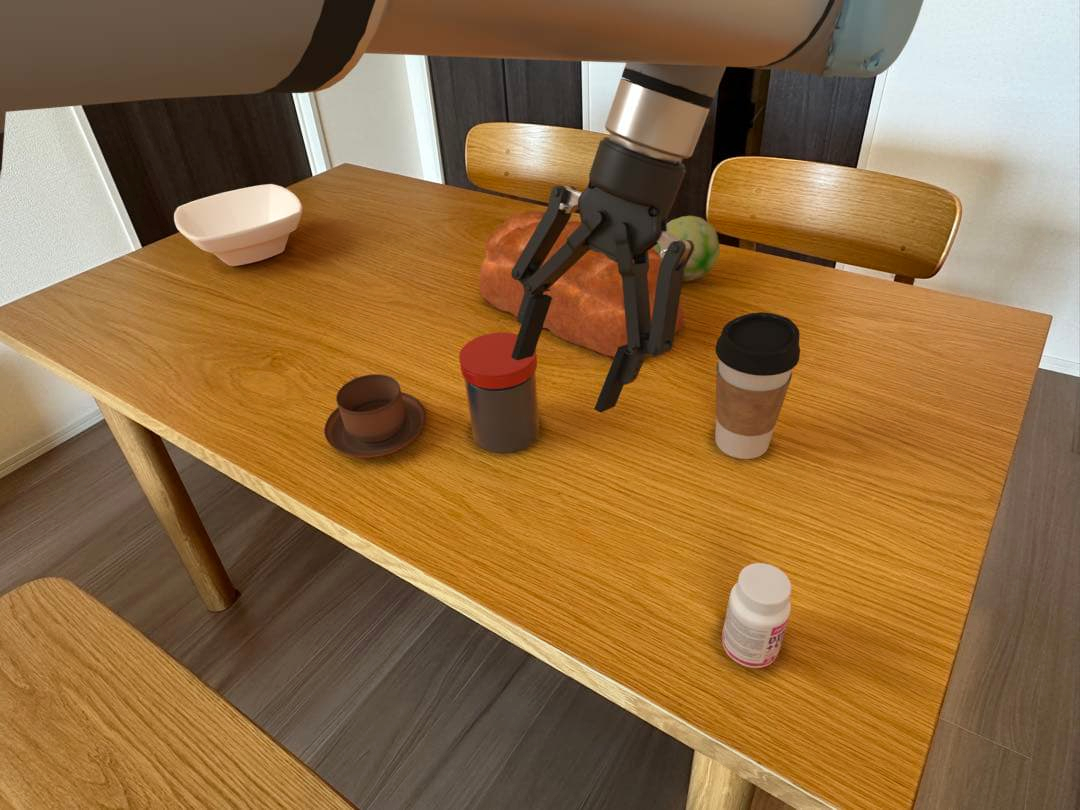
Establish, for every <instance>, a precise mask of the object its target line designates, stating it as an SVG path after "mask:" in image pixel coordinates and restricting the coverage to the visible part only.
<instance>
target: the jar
mask: <svg viewBox="0 0 1080 810" xmlns="http://www.w3.org/2000/svg"><path fill="white" fill-rule="evenodd" d="M463 379H464V385H465V392H466V398H467V406H468V412H469V419H470V426H471V433H472V438H473V440H474V442H475V443H476V444H477V445H478V446H479V447H480V448H482V449H483V450H486V451H488V452H491V453H495V454H496V453H497V454H508V453H515V452H518V451H521V450H523V449H526V448H527V447H529V446H530V445H532V444H533V443H534V442H535V441H536V440H537V438H538V436H539V434H540V420H539V419H540V418H539V406H538V390H537V376H536V371H535V372H534V373H533V375H532V376H531V377H530V378H529V379H527V380H526V381H524V382H522V383H520V384H518V385H515V386H512V387H508V388H502V389H488V388H482V387H478V386H475V385H473V384H471V383H469V382H468V381H467V380H466V379H465V378H464V377H463Z"/></svg>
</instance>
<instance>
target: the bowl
mask: <svg viewBox="0 0 1080 810" xmlns="http://www.w3.org/2000/svg"><path fill="white" fill-rule="evenodd" d="M303 209H304V208H303V205H302V203H301V201H300V199H299V198H298V196H297V195H296V194H294V193H293V192H292V191H291V190H289V189H287V188H285V187H284V186H281V185H277V184H274V183H267V184H260V185H253V186H248V187H243V188H238V189H234V190H229V191H224V192H220V193H217V194H216V193H215V194H212V195H209V196H206V197H201V198H198V199H196V200H193V201H189V202H187V203H185V204H181V205H179V206H177V207H176V209H175V211H174V213H173V221H174V225H175V227H176V229H177V230H178V231H179V232H180V234H182V235H183V236H184V237H185V239H187V240H189V241H190V242H191V243H192V244H193V245H195V246H196V247H197V248H199V249H200V250H202V251H204V252H207V253H209V254H213V255H214V256H215V257H217V258H218V259H219V260H220V261H221V262H223V263H224V264H226V265H228V266H229V267H238V266H243V265H248V264H253V263H257V262H260V261H264V260H266V259H269V258H272V257H274V256H277V255H280V254H282V253H284V251H285V250H286V245H287V243H288V240H289V236H290V234H291V233H292V232H294V231H295V230H297V228H298V226H299V223H300V220H301V217H302V214H303Z"/></svg>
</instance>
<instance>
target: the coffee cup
mask: <svg viewBox="0 0 1080 810" xmlns="http://www.w3.org/2000/svg"><path fill="white" fill-rule="evenodd" d="M800 336H801V333H800V329H799V327H798V325H796V324H795V323H794V321H793V320H791V318H788V317H786V316H783V315H780V314H777V313H772V312H765V311H764V312H762V311H760V312H752V313H751V312H750V313H747V314H743V315H740V316H738V317H735V318H733V319H731V320H730V321H729V322H727V323H726V324H725V325H724V326H723V328H722V330H721V332H720V336H719V337H718V338H717V340H716V343H715V354H716V356H717V358H718V361H717V363H716V370H715V371H716V374H715V385H716V386H715V429H714V431H715V435H714V439H715V444H716V446H717V448H718V449H719V450H720V451H721V452H722V453H724V454H725V455H728V456H730V457H732V458H736V459H740V460H750V459H756V458H759V457H761V456H763V455H764V454H765V453H766V452H767V450H768V449H769V446H770V443H771V439H772V436H773V433H774V430H775V426H776V425H777V422H778V419H779V416H780V414H781V410H782V407H783V404H784V402H785V398H786V395H787V394H788V393H787V392H788V389H789V387H790V383H791V381H792V377H793V372H792V371H793V369H794V368H796V366H797V365H798V363H799V362H800V355H801V348H800Z"/></svg>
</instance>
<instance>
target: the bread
mask: <svg viewBox="0 0 1080 810" xmlns="http://www.w3.org/2000/svg"><path fill="white" fill-rule="evenodd" d="M545 212H546V211H545ZM545 212H544V211H538V210H528V211H525V212H523V213H520V214H518V215H515V216H512V217H509V218H508V219H506V220H505V222H503V223H502V224H501V225H500V226H498V227H497V228H496V229H495V230H494V231H493V232H492V233H491V234H490V235H489V236H488V237H487V238H486V241H485V247H484V254H485V258H484V260H483V261H482V263H481V266H480V274H479V283H478V285H479V286H478V287H479V291H480V298H482V299H483V300H484V301H486V302H487V303H489V304H490V305H492V307H495V308H497V309H498V310H501V311H502V312H507V313H510V314H511V315H513V316H514V317H515V318H517V315H518V312H519V309H520V305H521V302H522V299H523V296H524V287H523V285H522V284H521V283H520V282H519V280H515V279H513V277H512V275H511V272H512V269H513V267H514V266H515V264H516V262H517V260H518V259H519V257H520V255H521V254H522V252H523V250H524V248H525V247H526V245H527V243H528V241H529V240H530V238H531V236H532V235H533V233H534V231H535V229H536V228H537V226H538V224H539V223H540V221H541V219H542V217H543V216H544V214H545ZM581 224H582V223H581V221H579V220H569V221H568V222H567V224H566V226H565V227H564V229H563V231H562V232H561V234H560V236H559V237H558V239H557V241H556V242H555V244H554V246H553V247H552V249H551V250H550V252H549V254H548V255H547V257H546V259H545V260H544V262H543V264H542V265H541V267H542V266H543V265H544V264H545V263H546V262H547V261H548V260H549V259H550V258H551V257H552V256H553V255H554V254H555V253H556V252H557V251H558V250H559V249H560V248H561V247H562V246H563V245H564V244H565V243H566V242H567V238H568V237H569V236H570V235H571V234H572V233H573V232H574V231H575V230H576V229H577V228H578V227H579V226H580V225H581ZM648 256H649V271H648V273H647V277H648V290H649V303H650V315H651V320H652V313H653V306H654V299H655V292H656V285H657V278H658V272H659V267H660V264H661V262H662V260H661V258H660V257H659V253H658V252H657V251H655V248H653V247H652V248H651V249H649V250H648ZM633 263H634V260H633ZM541 267H540V268H541ZM549 289H551V290H550V291H546V292H544V293H543V295H545V294H547V295H549V296H550V297H552V300H551V303H550V306H549V309H548V312H547V315H546V318H545V321H544V324H543V327H542V329H543V328H544V329H548V330H549V332H551V333H552V334H553V335H554V336H556V337H558V338H559V339H560V338H561V339H563V340H565V341H567V342H569V343H572V344H575V345H577V346H580V347H583V348H586V349H589V350H591V351H594V352H597V353H599V354H601V355H604V356H607V357H611V358H614V357H615V354H616V352H617V349H618V347H620V346H623V345H627V344H628V343H627V331H626V319H625V308H624V296H623V284H622V276H621V275H620V274H619V271H618V262H615V261H613V260H611V259H609V258H608V257H607V256H606V255H605V254H604V253H601V252H595V251H593V250H589V251H588V252H587V253H586V254H584V255H583V256H582V257H581V258H580V259H579V260H578V261H577V262H576V263H575V264H574V265H573V266H572V267H571V268H570V269H569V270H568V271H567V272H566V273H565V274H563V275H562V276H561V277H560V278H559V279H558V280H557V281H556V282H555V283H554V284H553V285H552V286H551V287H550V288H549ZM683 309H684V308H683V305H682V302H681V299H680V300H679V306H678V313H677V319H676V326H675V332H674V335H675V334H676V333H678V332H679V330H681V329H682V328H683V326H684V310H683ZM647 356H649V355H648V354H647V355H646V357H647Z"/></svg>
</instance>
